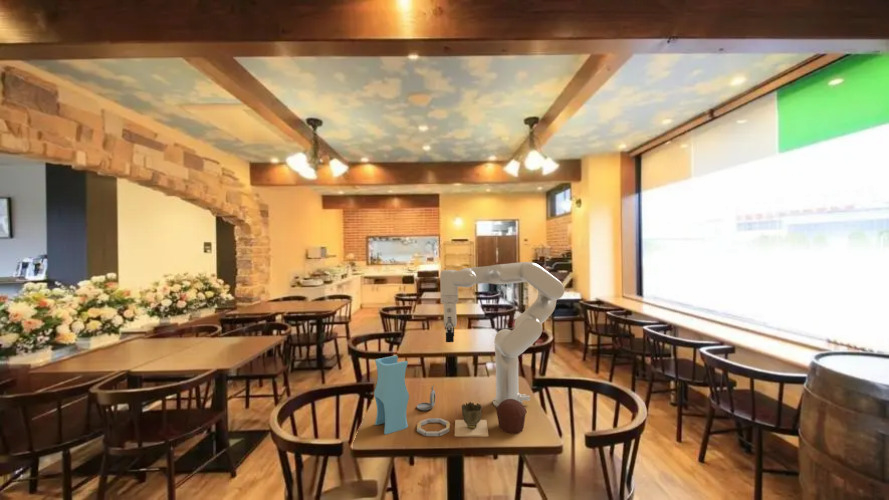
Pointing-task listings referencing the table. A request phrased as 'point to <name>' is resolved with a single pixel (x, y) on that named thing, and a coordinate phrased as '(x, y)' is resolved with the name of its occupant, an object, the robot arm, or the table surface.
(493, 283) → the robot arm
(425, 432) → the socket ring
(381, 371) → the vase
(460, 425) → the cork mat
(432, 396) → the pocket watch
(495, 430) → the table surface
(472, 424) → the cup
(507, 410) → the muffin
